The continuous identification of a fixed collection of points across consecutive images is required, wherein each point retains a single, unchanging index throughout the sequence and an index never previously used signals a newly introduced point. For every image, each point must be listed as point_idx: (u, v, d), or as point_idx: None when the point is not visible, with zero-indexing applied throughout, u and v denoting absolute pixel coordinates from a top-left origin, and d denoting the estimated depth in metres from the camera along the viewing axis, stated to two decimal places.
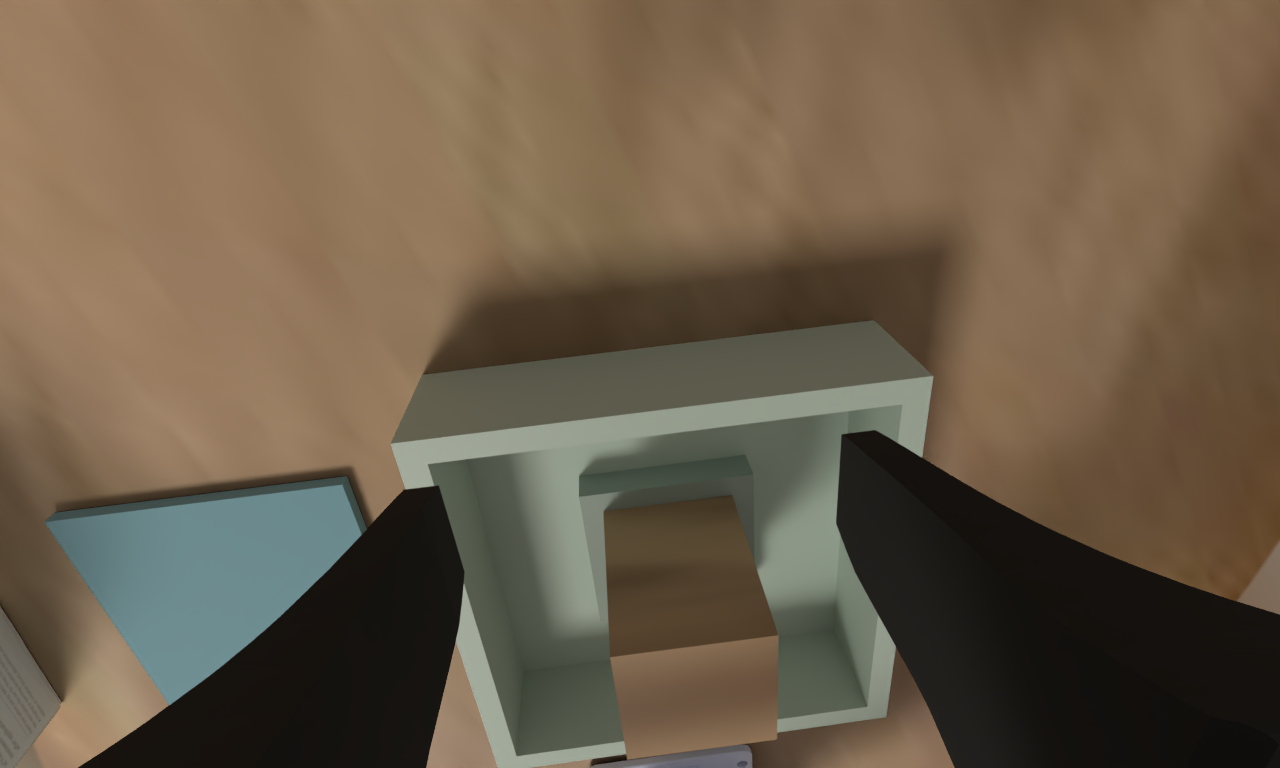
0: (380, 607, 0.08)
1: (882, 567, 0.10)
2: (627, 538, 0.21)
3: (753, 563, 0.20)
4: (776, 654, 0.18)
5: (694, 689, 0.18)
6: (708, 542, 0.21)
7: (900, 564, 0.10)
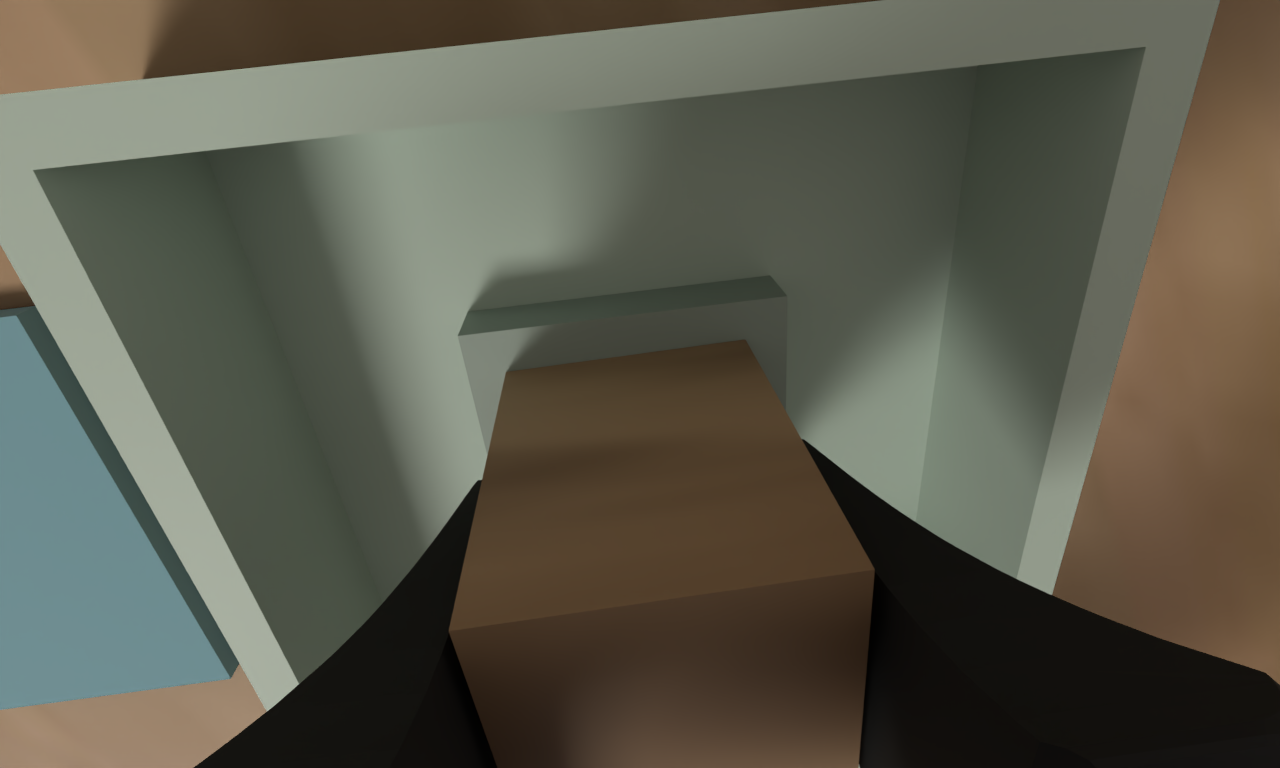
0: None
1: None
2: (541, 407, 0.11)
3: (795, 433, 0.09)
4: (866, 619, 0.07)
5: (668, 707, 0.08)
6: (700, 405, 0.10)
7: None
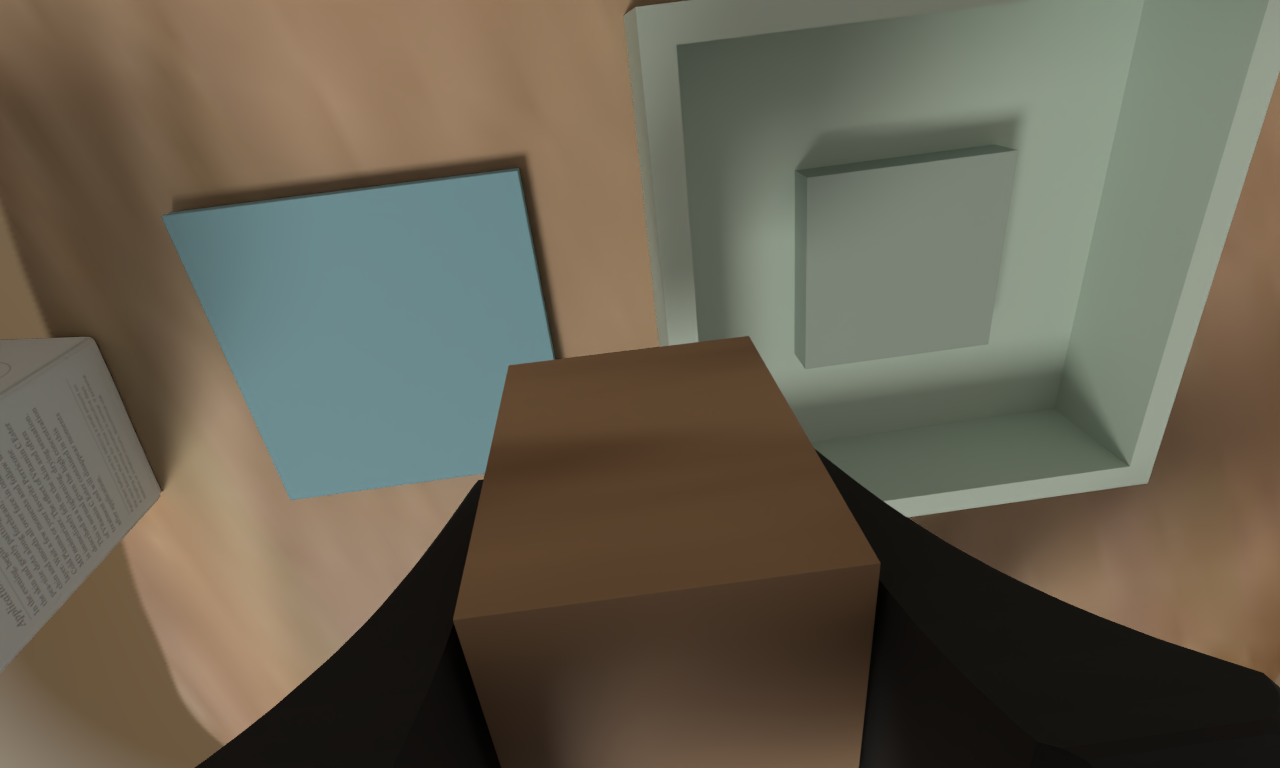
0: None
1: None
2: (544, 400, 0.11)
3: (800, 429, 0.09)
4: (871, 613, 0.07)
5: (671, 700, 0.08)
6: (704, 399, 0.10)
7: None
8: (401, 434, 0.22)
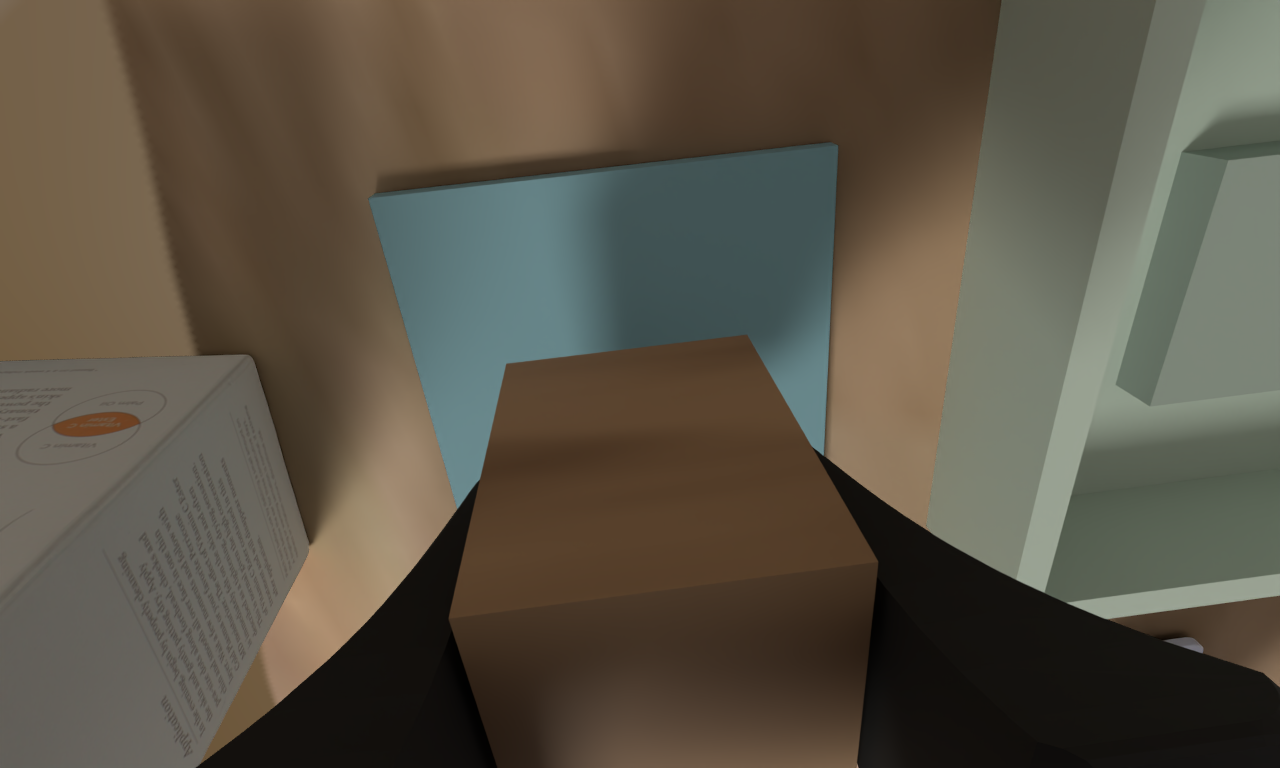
0: None
1: None
2: (542, 398, 0.11)
3: (798, 427, 0.09)
4: (868, 612, 0.07)
5: (668, 699, 0.08)
6: (702, 398, 0.10)
7: None
8: None
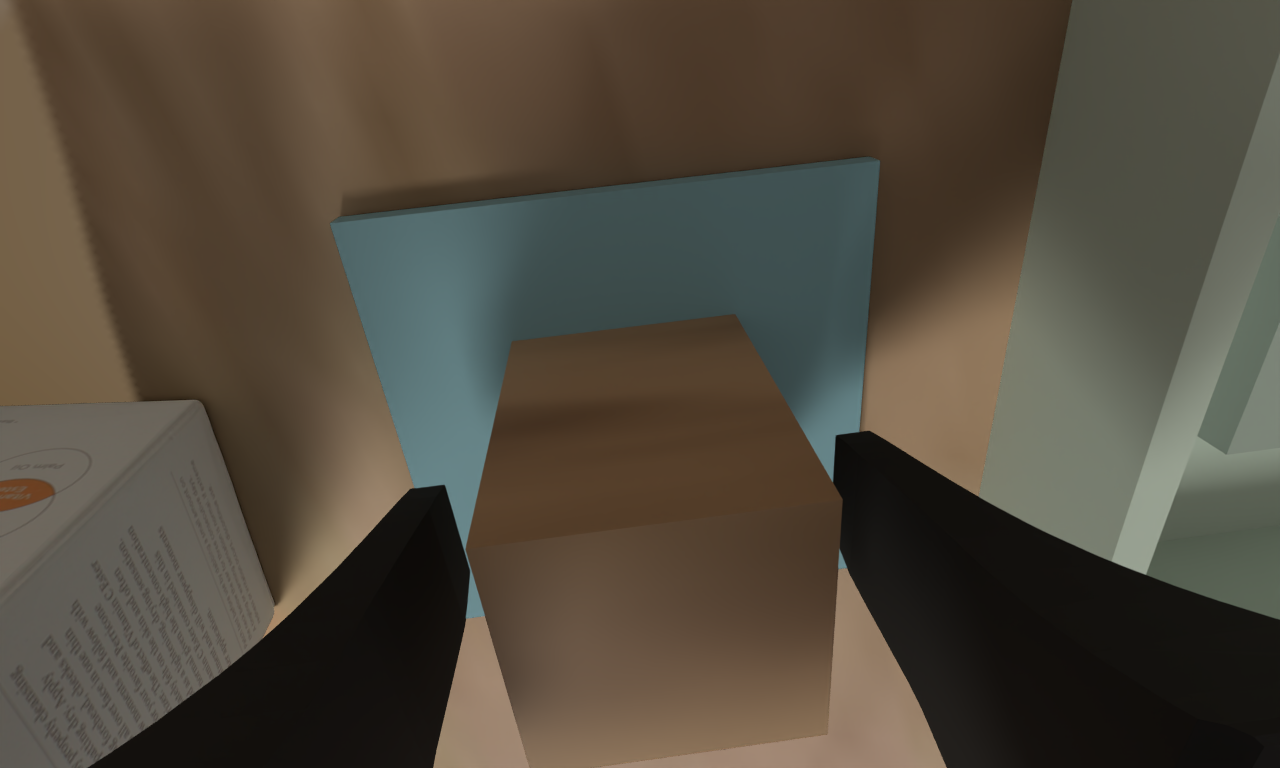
0: (388, 606, 0.08)
1: (875, 568, 0.10)
2: (545, 370, 0.12)
3: (778, 392, 0.10)
4: (835, 546, 0.08)
5: (659, 627, 0.08)
6: (691, 368, 0.11)
7: (893, 565, 0.10)
8: None
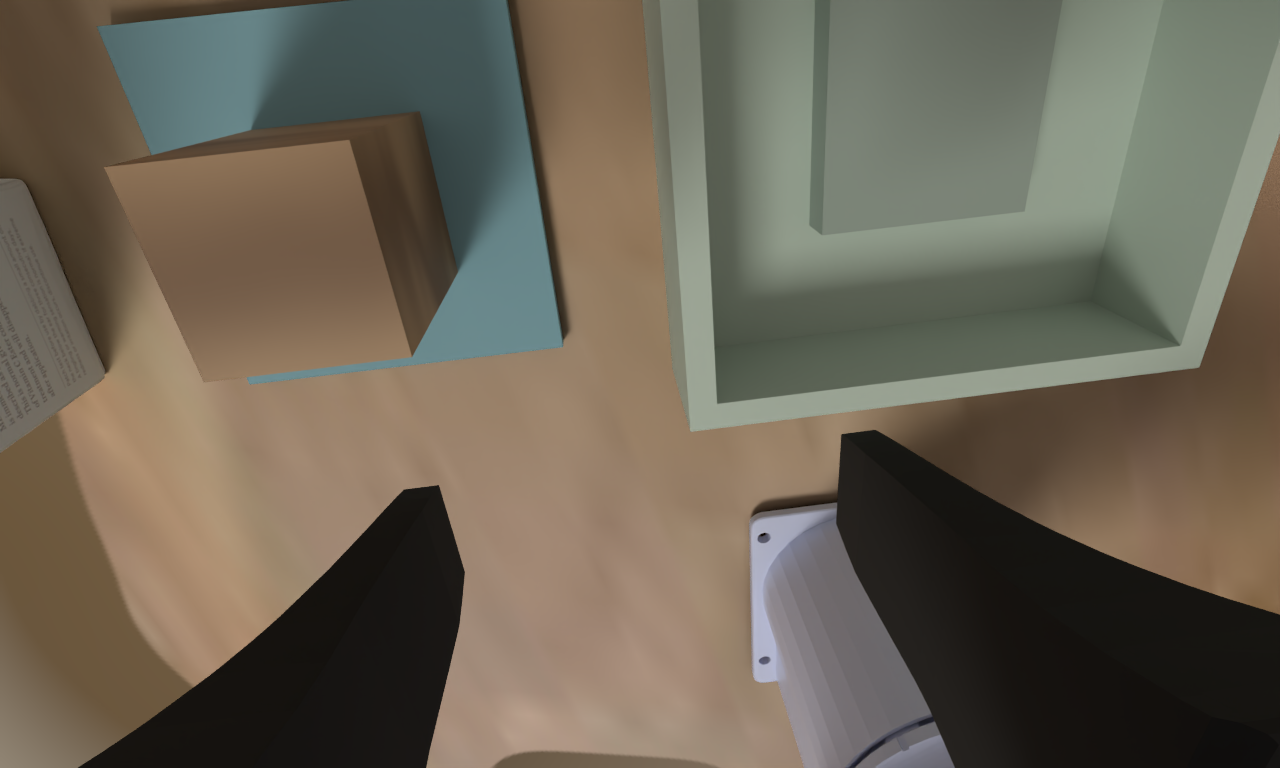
0: (380, 607, 0.08)
1: (882, 567, 0.10)
2: (253, 133, 0.16)
3: (385, 124, 0.14)
4: (358, 180, 0.12)
5: (256, 245, 0.13)
6: (348, 124, 0.15)
7: (900, 564, 0.10)
8: None
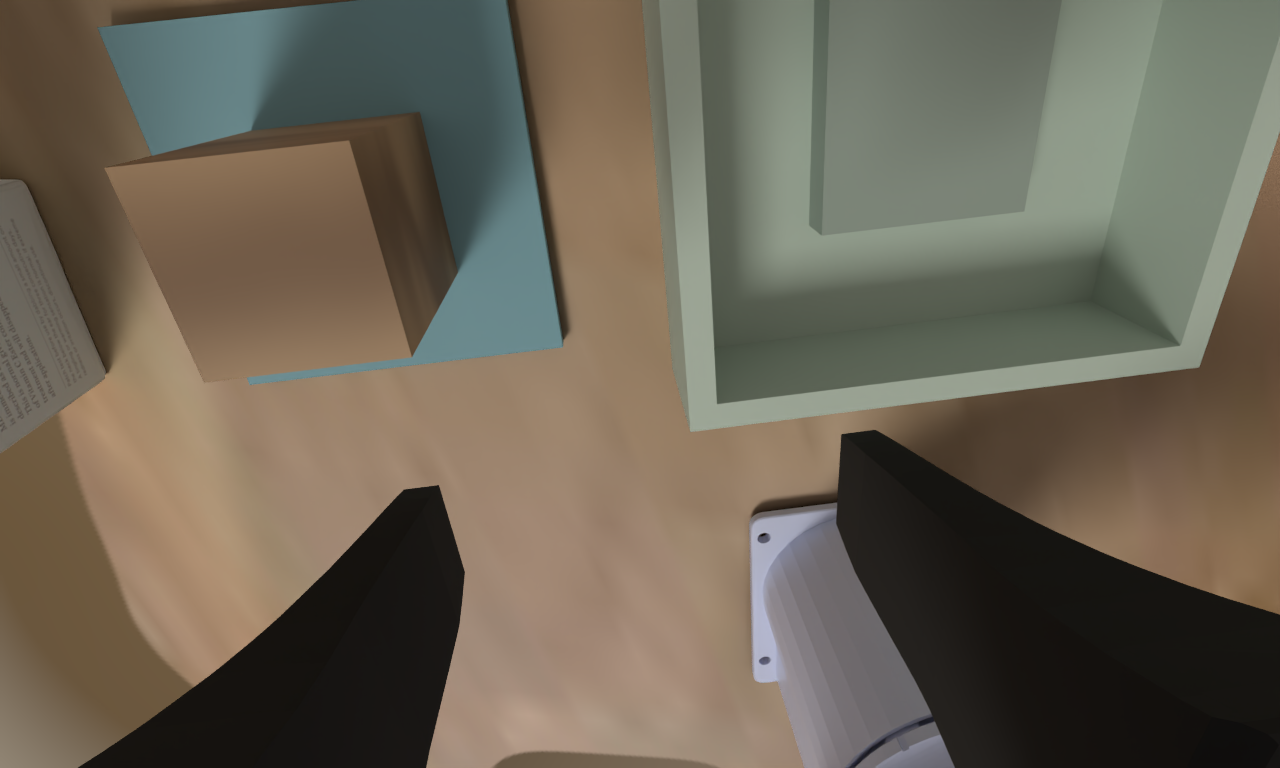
0: (380, 607, 0.08)
1: (882, 567, 0.10)
2: (253, 134, 0.16)
3: (385, 124, 0.14)
4: (358, 181, 0.12)
5: (256, 246, 0.13)
6: (348, 125, 0.15)
7: (900, 564, 0.10)
8: None
